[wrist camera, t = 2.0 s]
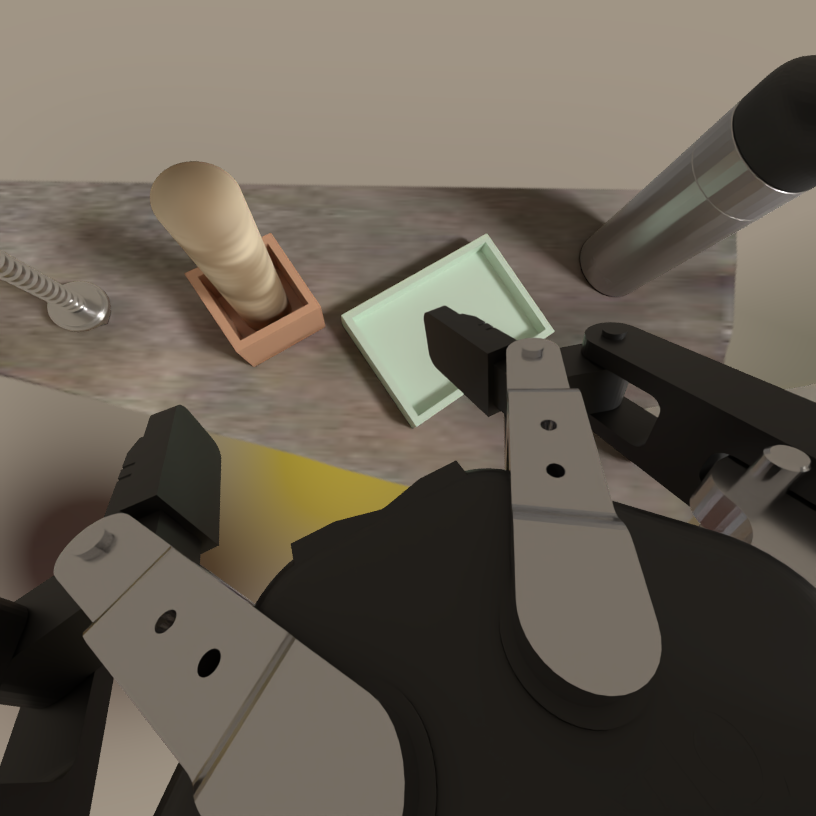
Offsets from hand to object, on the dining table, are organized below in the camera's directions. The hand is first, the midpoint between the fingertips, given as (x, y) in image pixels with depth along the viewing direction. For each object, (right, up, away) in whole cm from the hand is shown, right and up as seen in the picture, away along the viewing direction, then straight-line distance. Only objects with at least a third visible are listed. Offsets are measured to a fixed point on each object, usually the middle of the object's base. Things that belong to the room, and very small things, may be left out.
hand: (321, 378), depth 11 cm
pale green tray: (+8, +8, +27) cm, 29 cm away
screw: (-28, +8, +21) cm, 36 cm away
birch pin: (-12, +9, +23) cm, 27 cm away
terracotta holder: (-12, +9, +24) cm, 28 cm away
